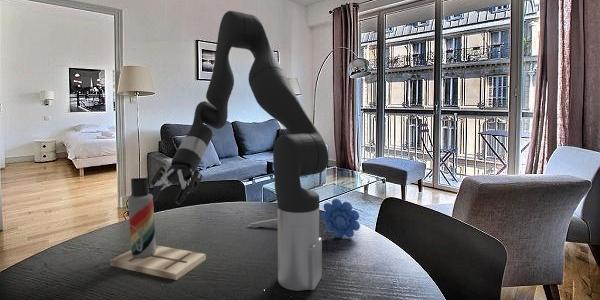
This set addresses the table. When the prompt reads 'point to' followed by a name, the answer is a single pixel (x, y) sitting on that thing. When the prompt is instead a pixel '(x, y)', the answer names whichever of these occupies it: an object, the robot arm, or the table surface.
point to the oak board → (161, 262)
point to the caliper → (263, 223)
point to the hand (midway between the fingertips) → (164, 201)
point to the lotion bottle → (141, 219)
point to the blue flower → (340, 218)
